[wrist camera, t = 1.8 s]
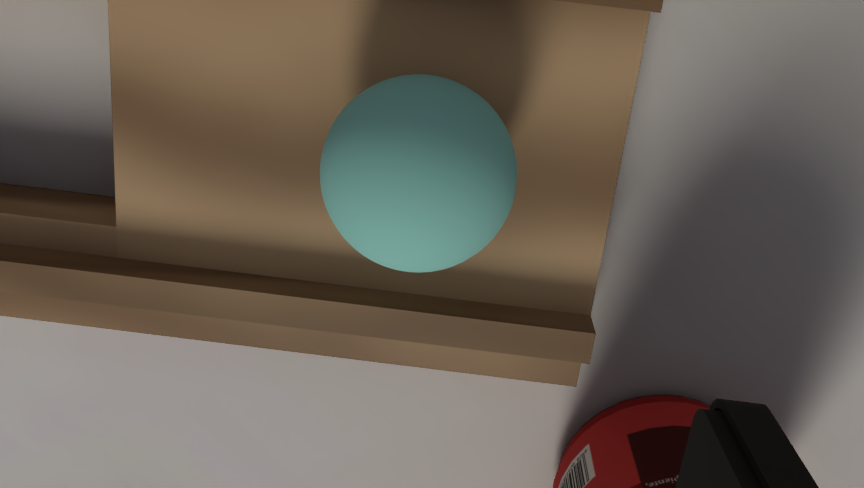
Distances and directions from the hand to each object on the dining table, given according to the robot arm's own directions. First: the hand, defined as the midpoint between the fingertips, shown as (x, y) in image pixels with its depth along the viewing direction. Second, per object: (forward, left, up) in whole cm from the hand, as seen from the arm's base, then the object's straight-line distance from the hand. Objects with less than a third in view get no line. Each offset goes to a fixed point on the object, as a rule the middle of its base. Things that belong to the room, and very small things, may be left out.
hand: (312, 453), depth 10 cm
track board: (0, -7, -17) cm, 18 cm away
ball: (0, 0, -12) cm, 12 cm away
